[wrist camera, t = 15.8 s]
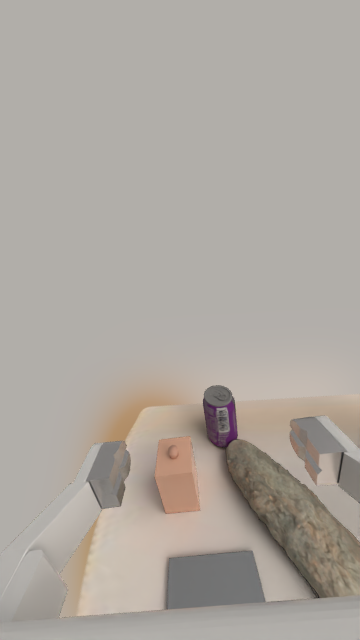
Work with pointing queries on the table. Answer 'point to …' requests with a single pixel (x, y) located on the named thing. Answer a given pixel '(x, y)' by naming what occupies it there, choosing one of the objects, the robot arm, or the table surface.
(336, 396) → the table surface
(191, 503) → the peach block with knob
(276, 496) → the long grey stone
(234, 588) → the mat
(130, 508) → the table surface
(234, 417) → the beverage can
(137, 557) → the table surface
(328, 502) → the table surface
